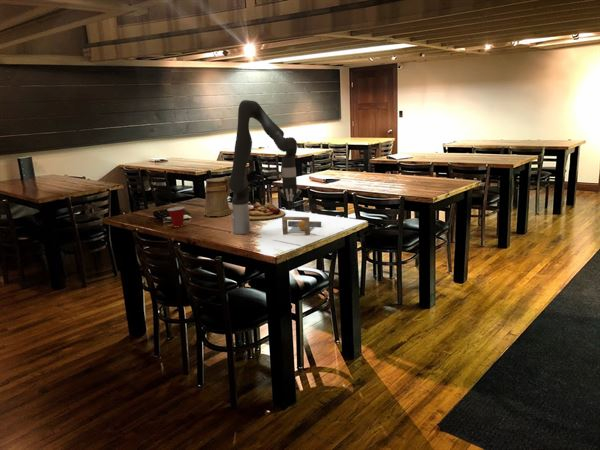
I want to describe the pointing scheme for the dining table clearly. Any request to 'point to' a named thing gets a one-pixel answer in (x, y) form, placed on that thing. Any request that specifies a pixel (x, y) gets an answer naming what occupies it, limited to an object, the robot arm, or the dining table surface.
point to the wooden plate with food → (265, 212)
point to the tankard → (217, 197)
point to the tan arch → (284, 219)
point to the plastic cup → (177, 215)
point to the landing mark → (298, 230)
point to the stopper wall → (295, 223)
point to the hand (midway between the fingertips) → (290, 207)
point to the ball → (302, 225)
